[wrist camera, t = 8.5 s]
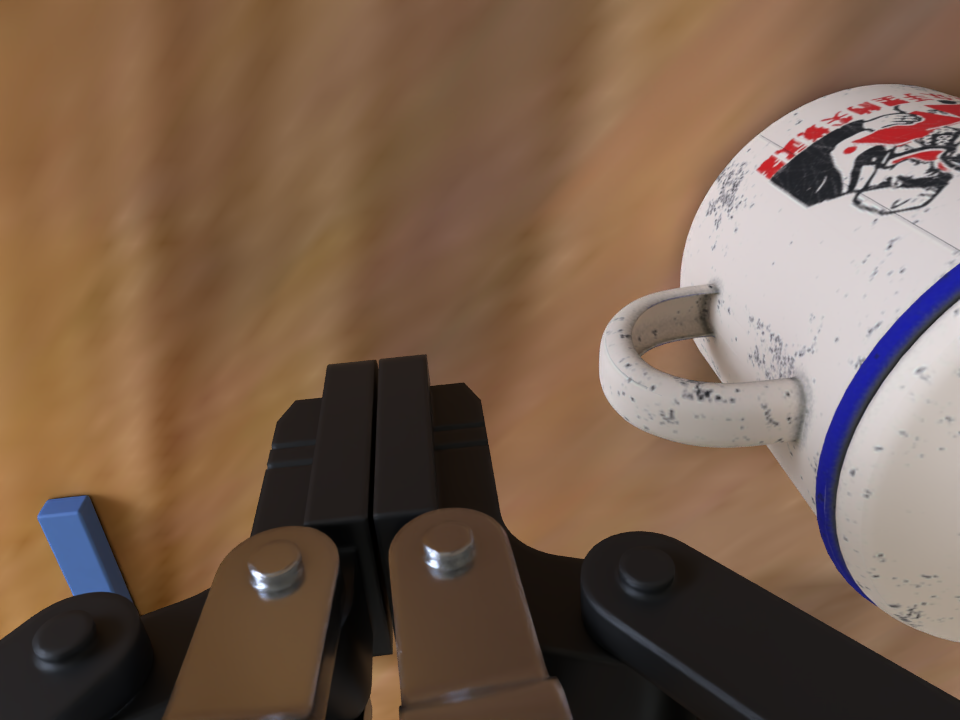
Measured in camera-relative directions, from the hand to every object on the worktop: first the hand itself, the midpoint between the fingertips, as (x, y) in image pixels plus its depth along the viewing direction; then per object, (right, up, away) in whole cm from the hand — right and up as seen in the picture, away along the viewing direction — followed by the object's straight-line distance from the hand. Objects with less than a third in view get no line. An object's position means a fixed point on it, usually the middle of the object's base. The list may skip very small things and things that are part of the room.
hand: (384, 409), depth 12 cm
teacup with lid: (+9, +4, +8) cm, 13 cm away
